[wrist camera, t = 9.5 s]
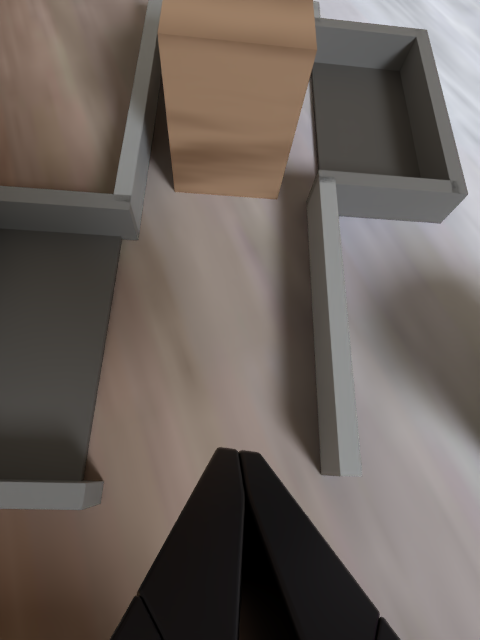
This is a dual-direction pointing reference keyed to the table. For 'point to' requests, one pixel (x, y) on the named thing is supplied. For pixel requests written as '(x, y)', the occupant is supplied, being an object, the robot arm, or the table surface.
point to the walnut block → (234, 90)
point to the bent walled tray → (124, 223)
